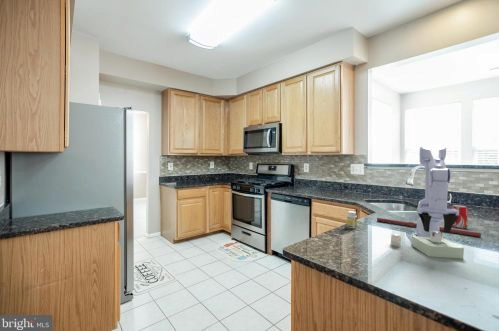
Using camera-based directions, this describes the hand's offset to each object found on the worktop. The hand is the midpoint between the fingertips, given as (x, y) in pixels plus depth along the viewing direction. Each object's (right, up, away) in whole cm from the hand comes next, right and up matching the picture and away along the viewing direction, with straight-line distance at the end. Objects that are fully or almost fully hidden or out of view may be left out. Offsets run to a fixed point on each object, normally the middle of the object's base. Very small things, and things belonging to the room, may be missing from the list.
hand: (436, 231), depth 97 cm
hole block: (0, -8, 0) cm, 8 cm away
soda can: (+42, -8, +37) cm, 56 cm away
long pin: (0, -8, 0) cm, 8 cm away
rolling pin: (+19, -8, +33) cm, 39 cm away
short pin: (-12, -8, +7) cm, 16 cm away
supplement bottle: (-20, -7, +33) cm, 39 cm away
